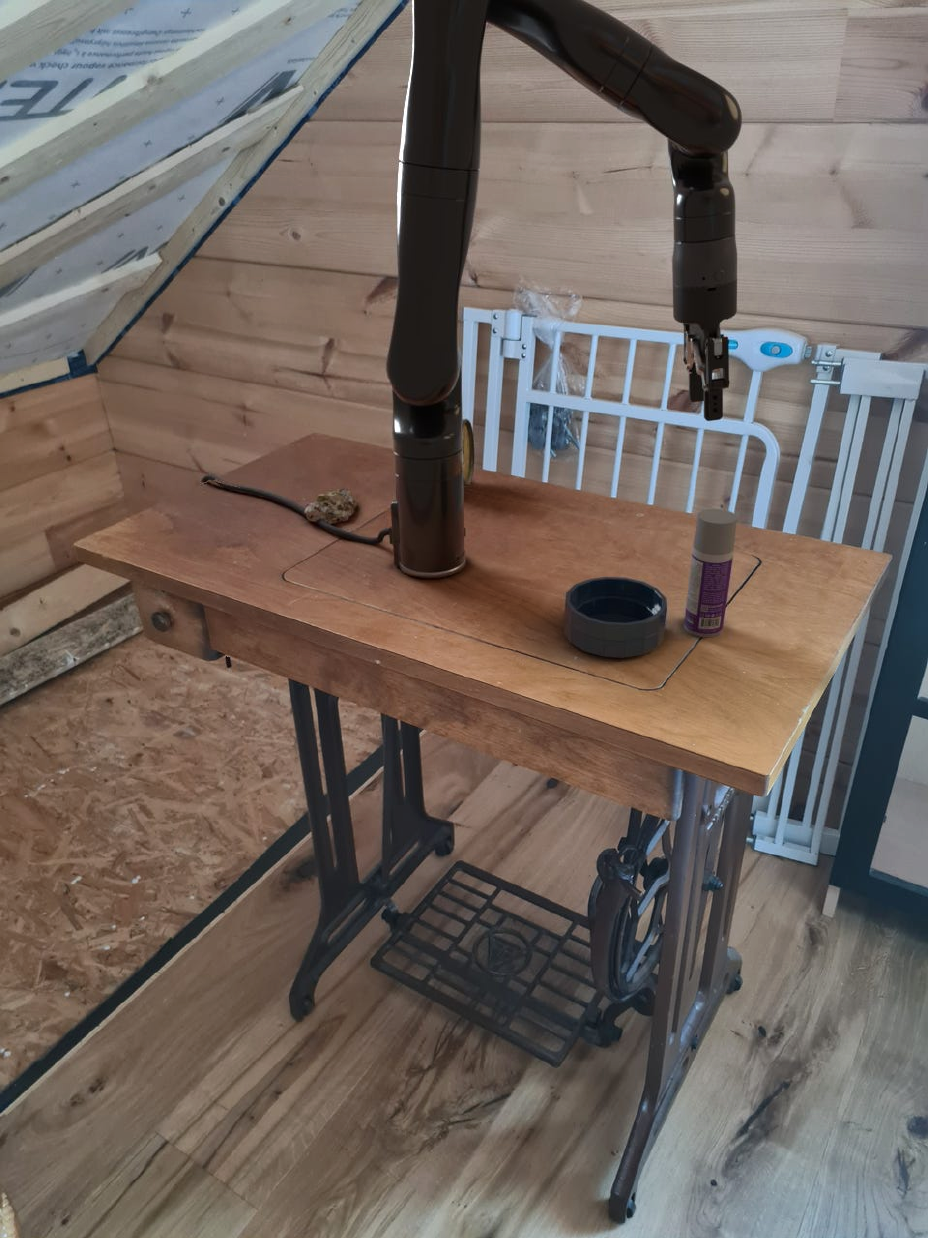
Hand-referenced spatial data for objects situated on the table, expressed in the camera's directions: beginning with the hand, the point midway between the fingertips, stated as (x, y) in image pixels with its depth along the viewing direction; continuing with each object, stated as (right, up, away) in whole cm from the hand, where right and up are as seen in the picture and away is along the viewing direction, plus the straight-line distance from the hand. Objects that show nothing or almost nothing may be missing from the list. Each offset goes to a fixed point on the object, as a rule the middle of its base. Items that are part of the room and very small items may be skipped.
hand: (705, 409), depth 118 cm
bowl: (-13, -29, -5) cm, 32 cm away
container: (-1, -28, -4) cm, 28 cm away
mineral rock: (-52, -10, +30) cm, 61 cm away
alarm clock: (-33, -5, +38) cm, 50 cm away
